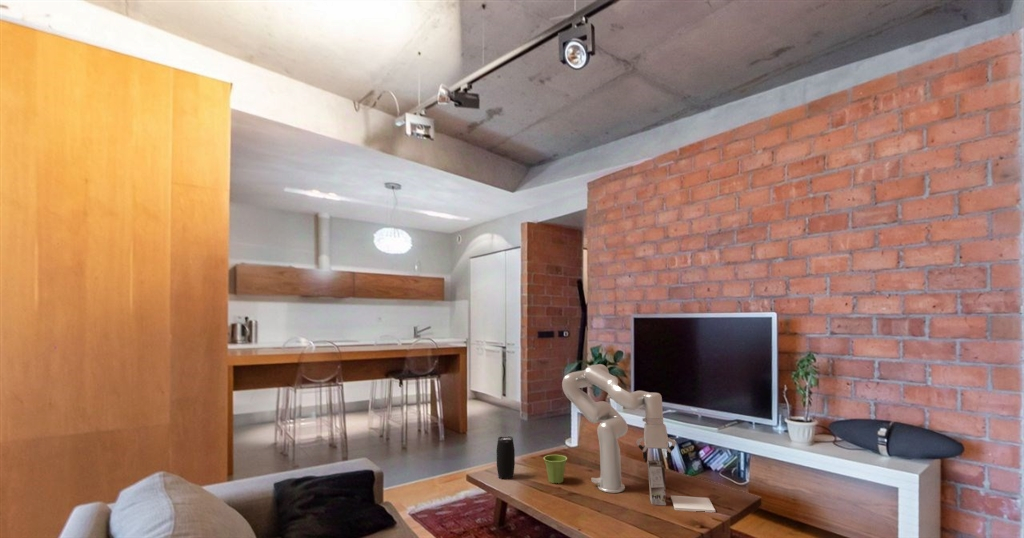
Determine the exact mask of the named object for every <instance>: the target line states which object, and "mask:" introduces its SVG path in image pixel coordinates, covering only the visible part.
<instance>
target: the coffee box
mask: <svg viewBox="0 0 1024 538" xmlns="http://www.w3.org/2000/svg"><path fill="white" fill-rule="evenodd" d="M647 466H648V469H647V470H648V471H647V472H648V486H649V487H648V489H649V499H650V503H651V505H653V506H654V505H655V506H667V495H666V494H667V493H666V489H667V488H666V472H665V469H666V467H665V464H664V463H663V461H662V460H647Z"/></svg>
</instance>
